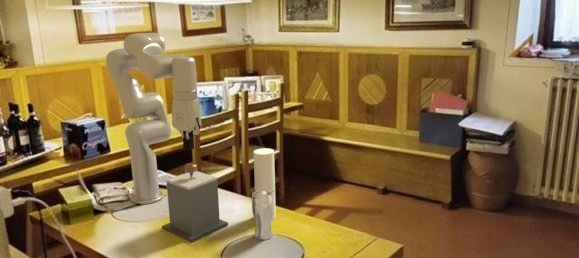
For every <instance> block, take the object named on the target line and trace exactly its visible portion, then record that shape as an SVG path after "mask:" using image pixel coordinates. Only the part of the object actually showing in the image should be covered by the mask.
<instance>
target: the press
mask: <svg viewBox="0 0 579 258" xmlns="http://www.w3.org/2000/svg"><path fill="white" fill-rule="evenodd" d="M193 177H194V180H190V173H188V172H185V173H183V174H182V173H181V174H180V175H179V174H178V175H176V176H173V177H171V178H168V179H166V180H165V181H166V191H167V205H168V214H169V223H165V224H163V225H162V226H161V230H163V231H165V232H168V233H170V234H171V235H174V236H176V237H178V238H180V239H182V240H185V241H186V242H189V243H190V244H193V243H196V242H197V241H199V240H201V239H203V238H205V237H207V236H210V235H211V234H213V233H216V232H218V231H220V230H222V229H223V228H226V227H229V222H228V221H225V220H222V219H221V218H220V205H219V188H218V187H219V186H218V177H216V176H215V175H210V174H207V173H204V172H201V171H198V170H197V171H196V172H193Z"/></svg>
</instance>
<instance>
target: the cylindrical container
mask: <svg viewBox="0 0 579 258" xmlns="http://www.w3.org/2000/svg"><path fill="white" fill-rule="evenodd" d="M253 168H254V169H253V172H254V175H253V176H254V192H255V191H259V190H267V191H270V192H272V198H273V215H272V221H274V220H275V219H276V218H277V216H276V215H277V211H276V208H277V207H276V206H277V205H276V175H275V174H276V173H275V172H276V171H275V150H274V149H273V148H265V147H264V148H258V149H255V150H253Z"/></svg>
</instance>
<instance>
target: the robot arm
mask: <svg viewBox="0 0 579 258" xmlns="http://www.w3.org/2000/svg"><path fill="white" fill-rule="evenodd" d="M165 50H166V41H165V39H164V38H163V36H162V35H161V34H160V33H157V32H141V33H138V32H137V33H132V34H131V33H130V34H129V35H128V36H126V37H125V39H124V40H123V48H115V49H113V50H111V51H109V52H108V53H107V54H106V57H105V63H106V69H107V72H108V74H109V76H110V78H111V80H112V81H113V83H114V85H115V87H116V91H117V94H118V98H119V101H120V105H121V109H122V111H123V115H124V116H125V118H126V119H129V120H136V119H138V120H139V119H142V118H149V117H151V118H152V119H146V120H141V121H135V122H132V123H130V124H128V126H127V127H126V128H125V131H124V132H125V139H126V142H127V145H128V149H129V157H130V165H131V174H132V182H133V186H131V188H130V189H131V190H132V191H133V194H132V195H131V196H130V201H131V200H132V201H133V202H135V203H134V204H137V203H139V204H138V205H147V204H154V203H157V202H159V201H161V200H162V199H163V198H164V192H163V191H161V190H160V188H159V187H160V186H159V185H160V183H159V175H158V166H157V165H158V164H157V156H156V153H155V152H154V150H153V149H152V148H150V145H153V144H158V143H163V142H166V141H168V140H170V138H171V137H172V127H173V128H174V129H176V130H177V131H178V132H179V133H180V135H181V139H182V145H183V150H184V151H187V152H188V151H191V150H194V149H195V142H194V141H195V140H194V138H196V136H198V135H200V129H201V128H202V118H201V117H202V115H201V108H200V105H199V104H200V103H199V100H198V85H197V68H196V67H197V66H196V65H197V64H196V60H195V58H194V57H192V56H187V55H185V54H181V53H171V54H164V52H165ZM137 70H139V71H140V72H141V74H143V75H144V76H145V77H147V78H149V79H152V80H161V79H167V78H172V91H173V92H172V94H173V99H172V102H171V123H170V119H169V115H168V112H167V109H166V105H165V101H164V99H163V97H162V95H160V94H159V93H158V92H155V91H152V92H151V91H149V92H143V91H142V90H141V87H140V86H141V85H140V82H139V81H138V79H137V78H136V77H135V76H134V75H133V74H131V73H130V72H128V71H137ZM171 126H172V127H171ZM132 201H131V202H132ZM133 202H132V203H133Z"/></svg>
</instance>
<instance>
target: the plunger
mask: <svg viewBox="0 0 579 258" xmlns="http://www.w3.org/2000/svg"><path fill="white" fill-rule="evenodd" d="M184 171H185V173H190V180H194V177H193V172H196V171H198V163H195V162H189V163H186V164H184Z"/></svg>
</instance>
